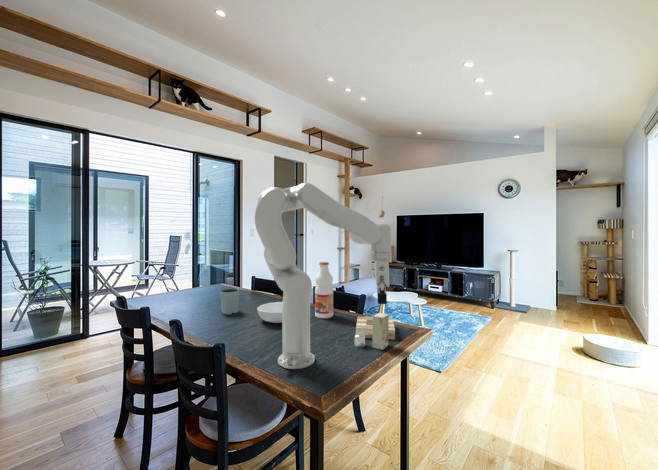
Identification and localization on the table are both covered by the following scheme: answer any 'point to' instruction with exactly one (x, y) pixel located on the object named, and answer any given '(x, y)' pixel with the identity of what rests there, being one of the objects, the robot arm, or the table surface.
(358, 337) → the short metal peg
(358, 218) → the robot arm
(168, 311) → the table surface
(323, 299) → the fruit juice
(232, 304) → the grey cup
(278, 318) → the serving bowl
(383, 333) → the skincare box
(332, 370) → the table surface
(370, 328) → the plate
